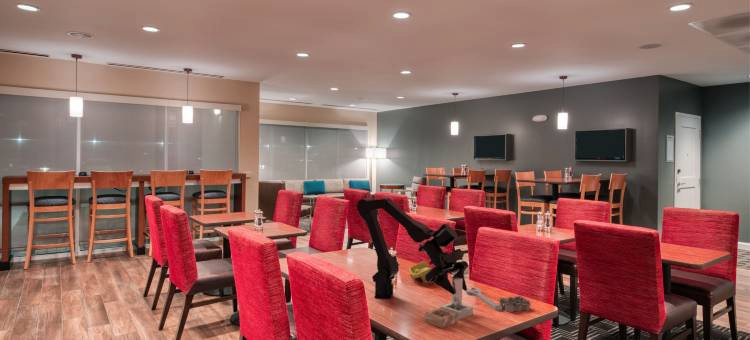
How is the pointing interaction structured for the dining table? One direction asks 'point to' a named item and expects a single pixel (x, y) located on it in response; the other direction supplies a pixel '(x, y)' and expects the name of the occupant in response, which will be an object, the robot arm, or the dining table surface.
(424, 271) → the plastic component
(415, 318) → the dining table surface
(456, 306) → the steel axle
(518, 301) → the grey jagged open ring
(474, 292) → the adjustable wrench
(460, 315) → the square hollow frame
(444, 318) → the beige square ring
